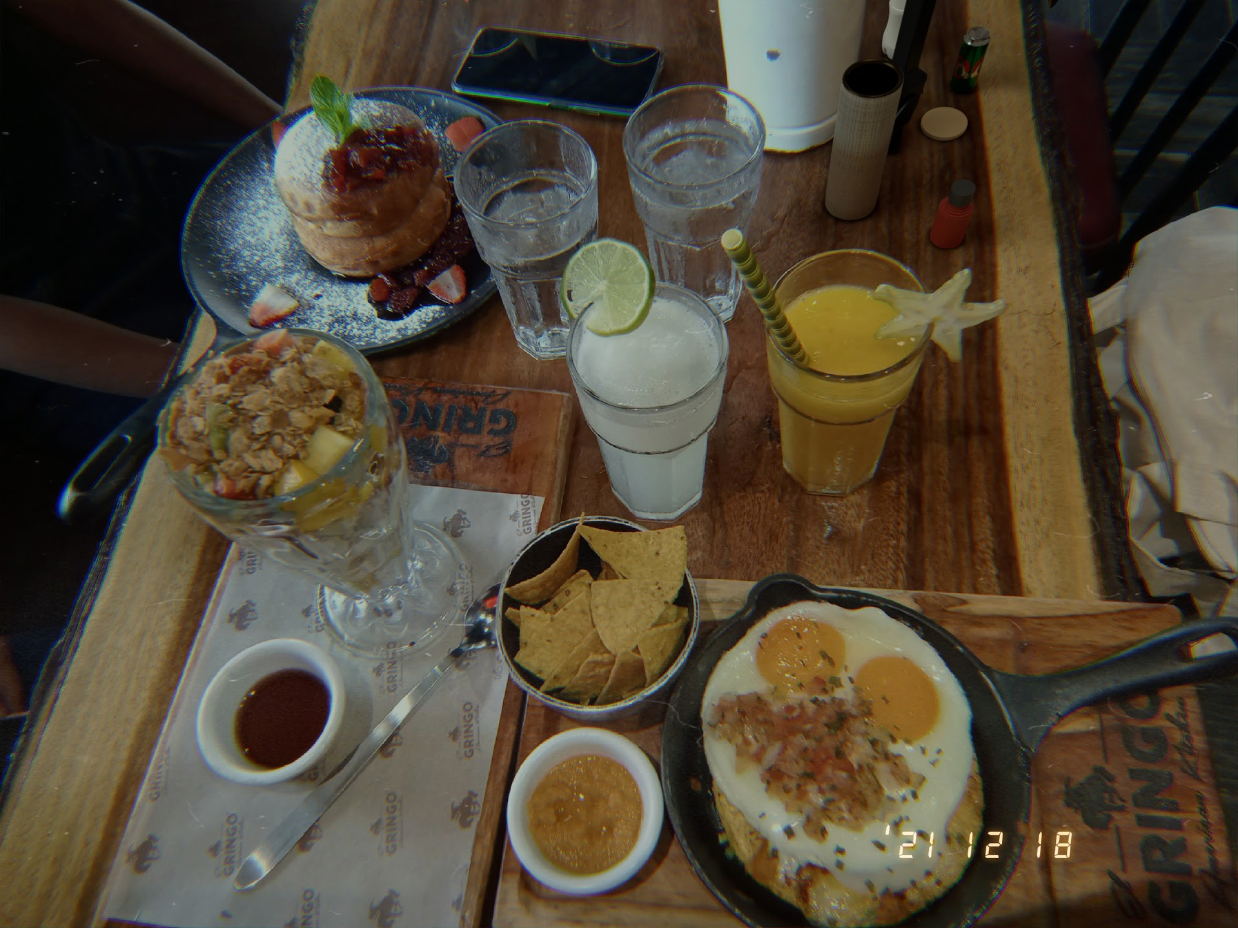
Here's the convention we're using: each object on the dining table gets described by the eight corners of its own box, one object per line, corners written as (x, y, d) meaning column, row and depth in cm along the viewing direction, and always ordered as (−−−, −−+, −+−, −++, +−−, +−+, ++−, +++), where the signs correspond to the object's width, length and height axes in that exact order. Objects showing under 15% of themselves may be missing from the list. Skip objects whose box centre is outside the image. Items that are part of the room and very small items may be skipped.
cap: (949, 208, 130) (953, 196, 128) (946, 191, 132) (950, 180, 129) (973, 207, 129) (977, 195, 127) (969, 190, 131) (974, 178, 129)
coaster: (923, 142, 150) (923, 139, 150) (918, 112, 154) (919, 108, 153) (969, 139, 149) (970, 135, 148) (963, 108, 153) (964, 105, 152)
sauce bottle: (931, 249, 138) (947, 203, 128) (927, 225, 141) (942, 178, 130) (965, 248, 137) (983, 201, 127) (960, 223, 140) (978, 176, 130)
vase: (878, 186, 147) (907, 58, 122) (872, 223, 143) (900, 99, 118) (828, 182, 149) (846, 56, 124) (821, 219, 145) (838, 95, 121)
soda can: (973, 78, 156) (990, 24, 145) (975, 94, 154) (993, 40, 143) (948, 80, 157) (963, 26, 146) (950, 96, 155) (966, 42, 144)
